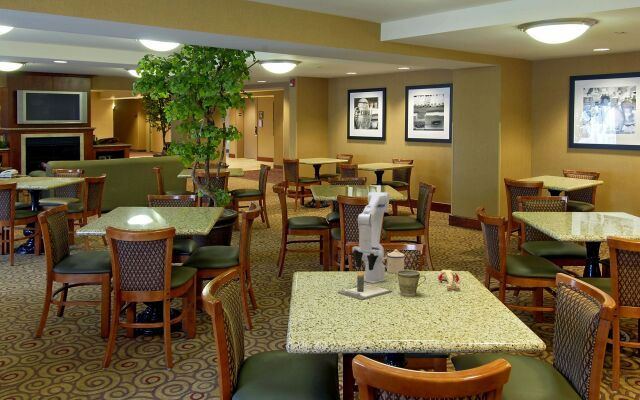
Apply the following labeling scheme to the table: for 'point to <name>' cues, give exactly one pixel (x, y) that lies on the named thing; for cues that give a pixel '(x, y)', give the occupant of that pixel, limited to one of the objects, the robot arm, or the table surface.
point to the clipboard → (365, 292)
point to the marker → (360, 282)
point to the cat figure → (449, 279)
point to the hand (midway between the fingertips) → (364, 268)
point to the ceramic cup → (409, 281)
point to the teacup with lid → (394, 261)
